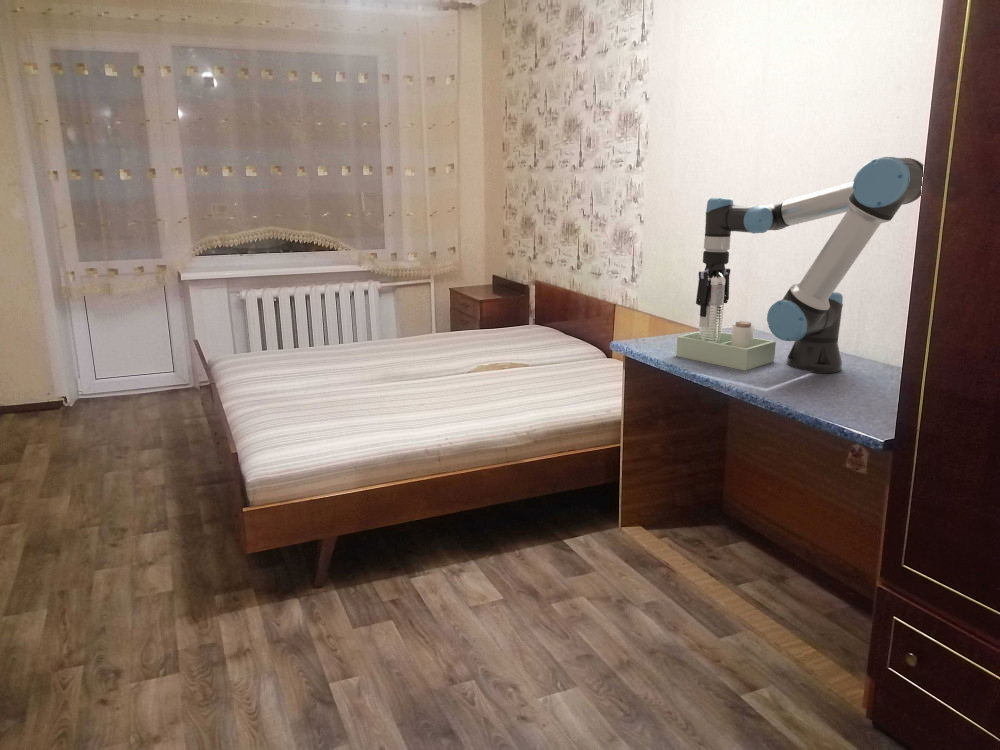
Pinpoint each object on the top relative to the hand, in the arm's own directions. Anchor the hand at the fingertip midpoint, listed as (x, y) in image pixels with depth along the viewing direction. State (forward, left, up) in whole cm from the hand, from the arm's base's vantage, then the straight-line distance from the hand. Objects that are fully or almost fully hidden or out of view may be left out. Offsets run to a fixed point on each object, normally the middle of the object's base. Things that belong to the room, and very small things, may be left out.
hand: (710, 325), depth 233 cm
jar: (-11, 0, -10) cm, 15 cm away
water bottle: (0, 0, -7) cm, 7 cm away
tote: (-6, 0, -10) cm, 12 cm away
